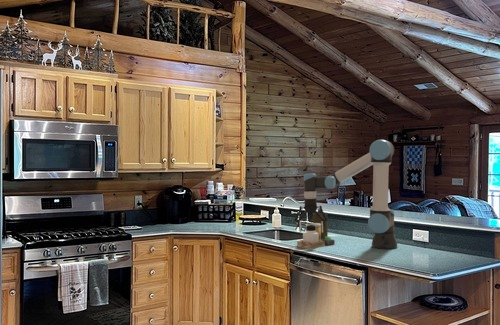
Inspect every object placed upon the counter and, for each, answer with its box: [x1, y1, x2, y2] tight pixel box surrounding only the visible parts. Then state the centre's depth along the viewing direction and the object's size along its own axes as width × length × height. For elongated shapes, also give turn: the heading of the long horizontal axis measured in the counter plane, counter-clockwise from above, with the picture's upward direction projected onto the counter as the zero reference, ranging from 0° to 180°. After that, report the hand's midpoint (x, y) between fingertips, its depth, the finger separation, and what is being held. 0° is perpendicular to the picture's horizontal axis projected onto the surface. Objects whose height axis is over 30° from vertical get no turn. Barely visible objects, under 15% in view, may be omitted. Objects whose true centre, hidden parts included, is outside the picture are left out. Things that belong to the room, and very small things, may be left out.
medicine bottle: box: [302, 224, 319, 243], centre depth 303 cm, size 7×7×12 cm
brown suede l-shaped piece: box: [296, 222, 335, 249], centre depth 307 cm, size 16×21×12 cm
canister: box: [311, 208, 329, 240], centre depth 334 cm, size 11×10×20 cm
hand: (311, 232), depth 303 cm, fingers open, 13 cm apart
